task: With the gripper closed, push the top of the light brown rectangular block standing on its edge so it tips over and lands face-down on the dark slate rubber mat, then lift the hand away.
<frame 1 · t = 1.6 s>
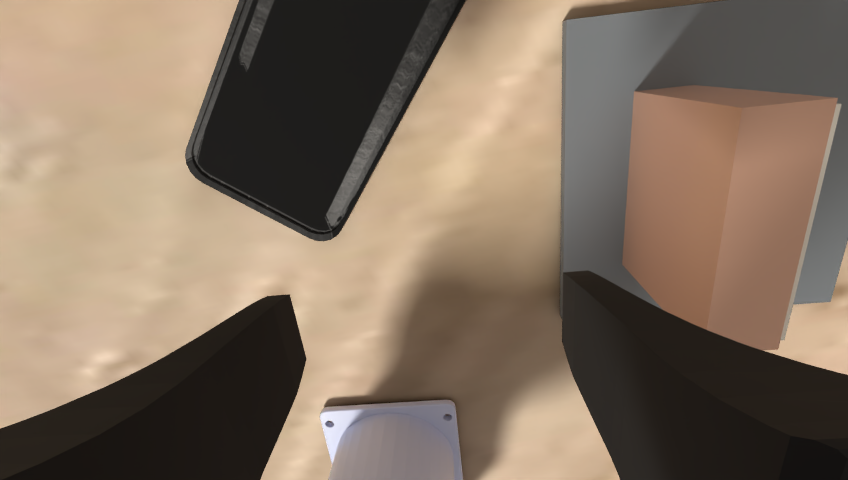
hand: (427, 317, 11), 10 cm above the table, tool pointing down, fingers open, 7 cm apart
phone: (329, 62, 19), on the table
mat: (705, 173, 20), on the table
light brown rectangular block: (655, 181, 19), point 1 cm above the table, touching mat
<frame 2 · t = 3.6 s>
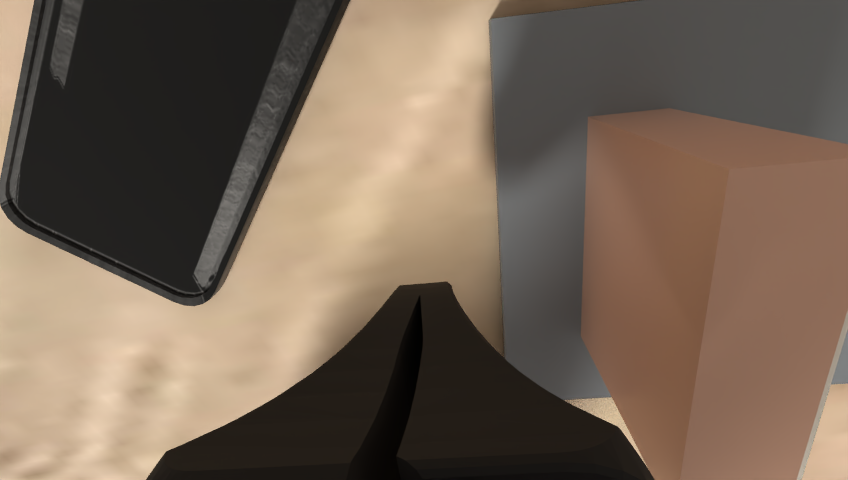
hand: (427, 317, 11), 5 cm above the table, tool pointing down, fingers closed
phone: (184, 75, 14), on the table
mat: (687, 221, 15), on the table
light brown rectangular block: (620, 234, 15), point 1 cm above the table, touching mat
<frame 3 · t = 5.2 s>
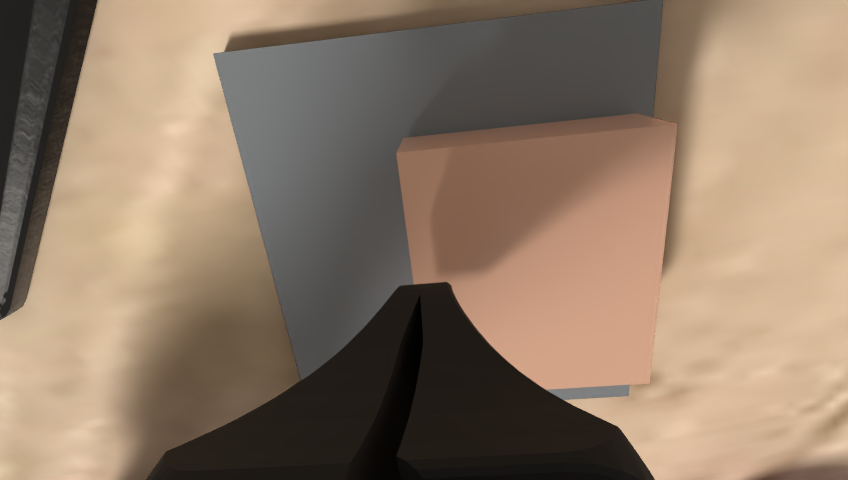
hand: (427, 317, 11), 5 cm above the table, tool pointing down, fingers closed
mat: (449, 242, 16), on the table
light brown rectangular block: (416, 270, 14), point 2 cm above the table, tilted 90°, touching mat
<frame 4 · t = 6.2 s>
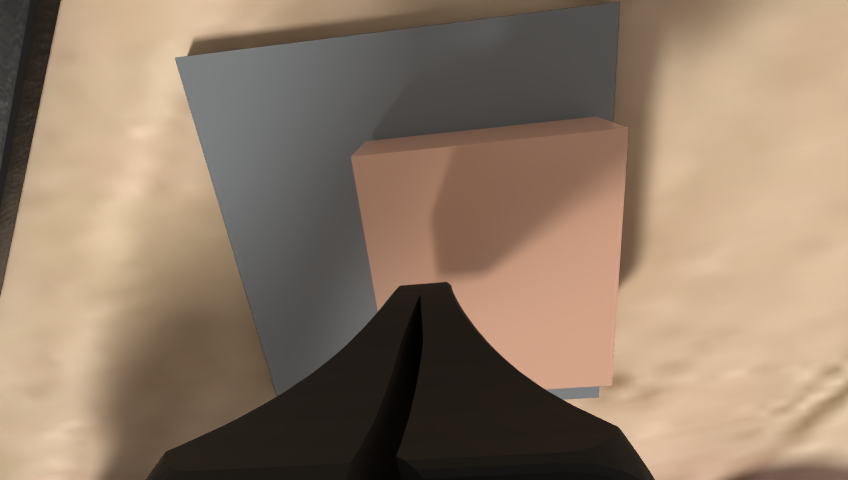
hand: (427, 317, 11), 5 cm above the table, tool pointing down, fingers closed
mat: (417, 244, 16), on the table
light brown rectangular block: (379, 273, 14), point 2 cm above the table, tilted 90°, touching mat
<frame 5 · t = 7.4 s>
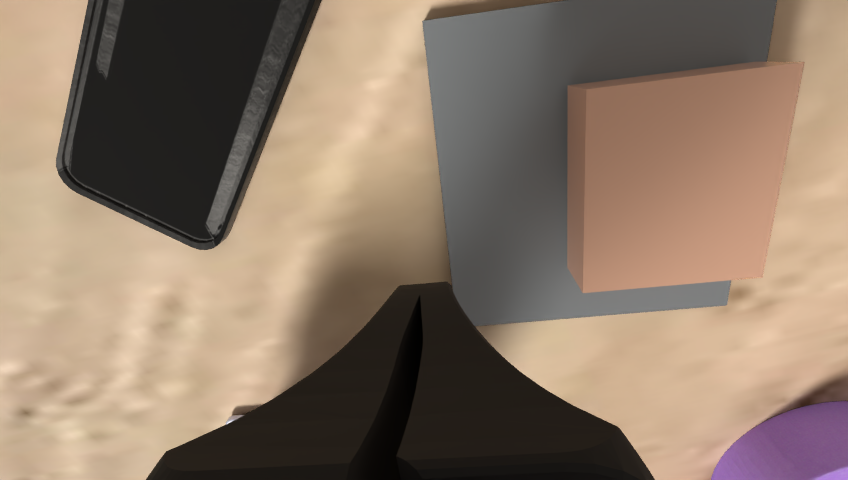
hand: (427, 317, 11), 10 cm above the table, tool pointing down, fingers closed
phone: (195, 67, 19), on the table
mat: (587, 175, 19), on the table
light brown rectangular block: (575, 191, 17), point 2 cm above the table, tilted 90°, touching mat
masking tape: (807, 471, 26), on the table
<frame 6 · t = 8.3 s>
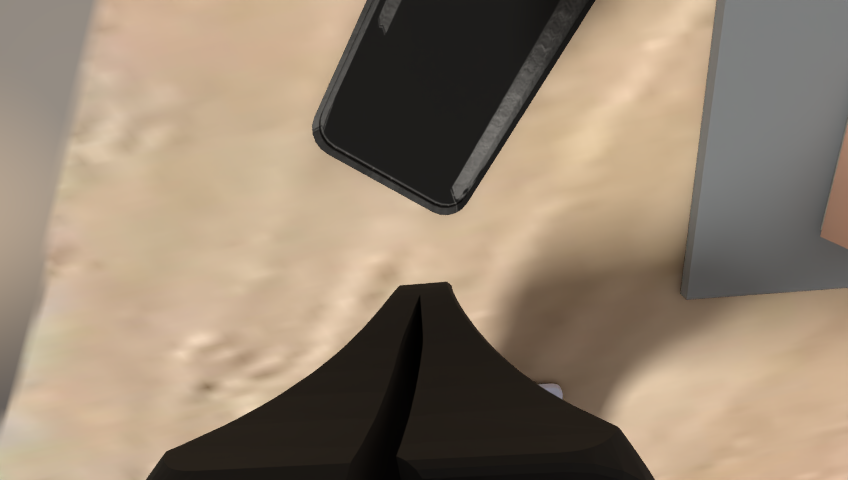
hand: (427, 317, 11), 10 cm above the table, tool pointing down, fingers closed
phone: (464, 26, 18), on the table
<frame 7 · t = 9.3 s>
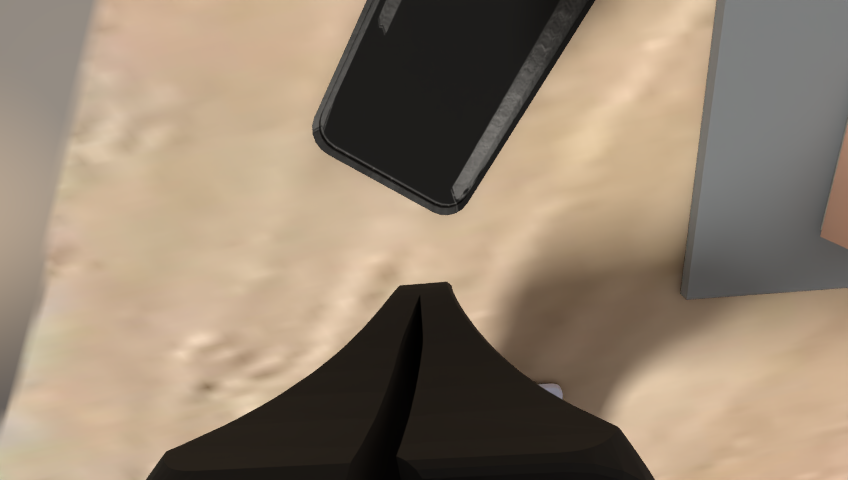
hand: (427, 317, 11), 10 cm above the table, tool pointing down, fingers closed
phone: (464, 26, 18), on the table
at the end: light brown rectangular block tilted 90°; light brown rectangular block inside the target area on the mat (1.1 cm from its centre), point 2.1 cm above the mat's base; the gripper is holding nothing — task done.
